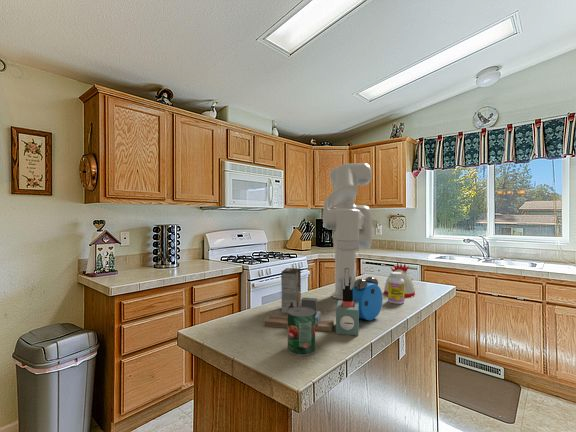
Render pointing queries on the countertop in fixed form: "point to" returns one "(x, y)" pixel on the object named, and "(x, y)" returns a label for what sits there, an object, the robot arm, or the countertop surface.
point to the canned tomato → (301, 331)
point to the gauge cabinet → (347, 319)
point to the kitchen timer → (408, 282)
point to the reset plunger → (347, 304)
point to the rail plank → (283, 322)
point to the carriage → (312, 304)
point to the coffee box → (291, 288)
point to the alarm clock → (368, 297)
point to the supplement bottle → (396, 288)
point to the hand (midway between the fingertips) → (347, 300)
